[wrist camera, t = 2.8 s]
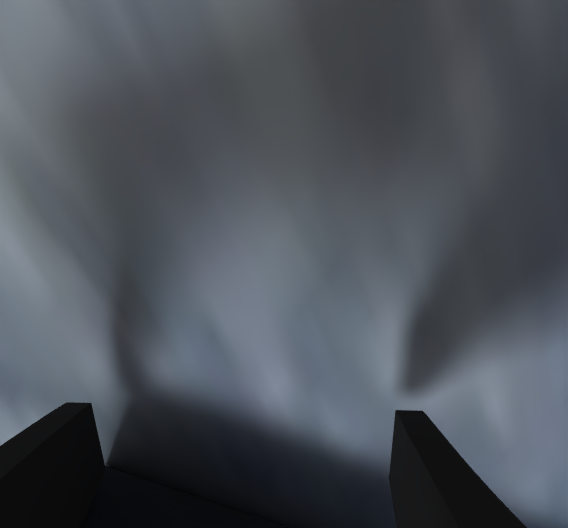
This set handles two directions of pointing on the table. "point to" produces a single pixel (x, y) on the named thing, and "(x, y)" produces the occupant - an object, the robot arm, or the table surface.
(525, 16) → the table surface
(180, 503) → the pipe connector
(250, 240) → the table surface
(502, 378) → the table surface
